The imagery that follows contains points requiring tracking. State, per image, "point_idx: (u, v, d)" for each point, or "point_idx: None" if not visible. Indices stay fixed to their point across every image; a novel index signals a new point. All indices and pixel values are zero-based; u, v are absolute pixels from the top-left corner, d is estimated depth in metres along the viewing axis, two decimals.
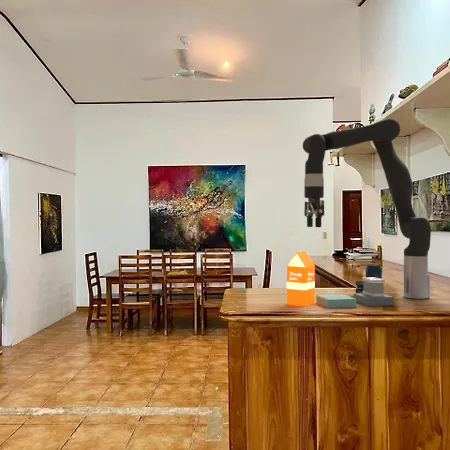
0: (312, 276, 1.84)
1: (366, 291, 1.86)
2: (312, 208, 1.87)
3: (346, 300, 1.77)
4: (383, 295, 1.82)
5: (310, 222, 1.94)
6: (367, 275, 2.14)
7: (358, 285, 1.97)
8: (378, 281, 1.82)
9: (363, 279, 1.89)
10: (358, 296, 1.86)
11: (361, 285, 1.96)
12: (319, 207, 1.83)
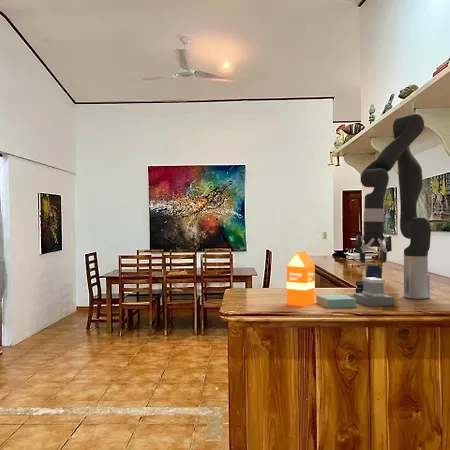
0: (312, 276, 1.84)
1: (366, 291, 1.86)
2: (381, 244, 1.85)
3: (346, 300, 1.77)
4: (383, 295, 1.82)
5: None
6: (367, 275, 2.14)
7: (358, 285, 1.97)
8: (378, 281, 1.82)
9: (363, 279, 1.89)
10: (358, 296, 1.86)
11: (361, 285, 1.96)
12: None
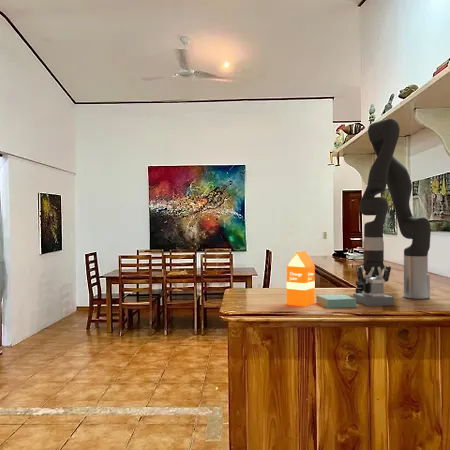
0: (312, 276, 1.84)
1: None
2: (380, 273, 1.85)
3: (346, 300, 1.77)
4: (383, 295, 1.82)
5: None
6: None
7: (358, 285, 1.97)
8: (378, 281, 1.82)
9: None
10: (358, 296, 1.86)
11: (361, 285, 1.96)
12: None
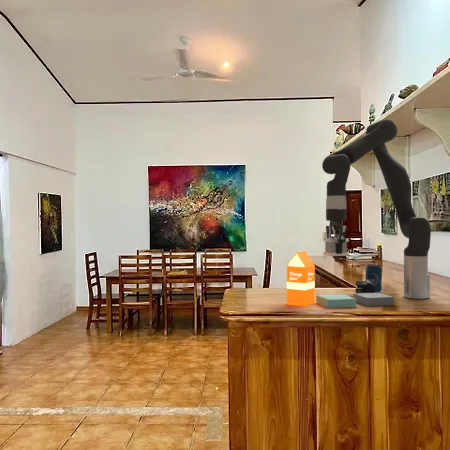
0: (312, 276, 1.84)
1: None
2: None
3: (346, 300, 1.77)
4: None
5: None
6: (367, 275, 2.14)
7: (358, 285, 1.97)
8: None
9: (330, 240, 1.79)
10: (358, 296, 1.86)
11: (361, 285, 1.96)
12: None
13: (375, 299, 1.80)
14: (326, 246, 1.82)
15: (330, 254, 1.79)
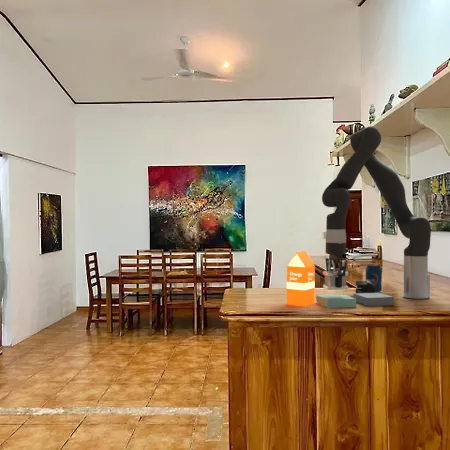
0: (312, 276, 1.84)
1: None
2: None
3: (346, 300, 1.77)
4: None
5: None
6: (367, 275, 2.14)
7: (358, 285, 1.97)
8: None
9: (330, 274, 1.79)
10: (358, 296, 1.86)
11: (361, 285, 1.96)
12: None
13: (375, 299, 1.80)
14: (326, 279, 1.83)
15: (329, 288, 1.79)
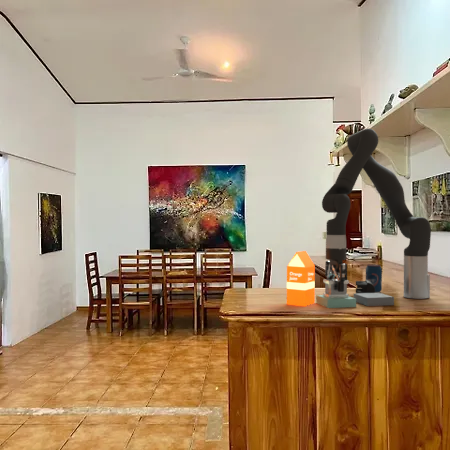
0: (312, 276, 1.84)
1: (337, 294, 1.79)
2: None
3: (346, 300, 1.77)
4: None
5: None
6: (367, 275, 2.14)
7: (358, 285, 1.97)
8: None
9: (330, 282, 1.79)
10: (358, 296, 1.86)
11: (361, 285, 1.96)
12: None
13: (375, 299, 1.80)
14: (326, 287, 1.83)
15: (330, 296, 1.79)
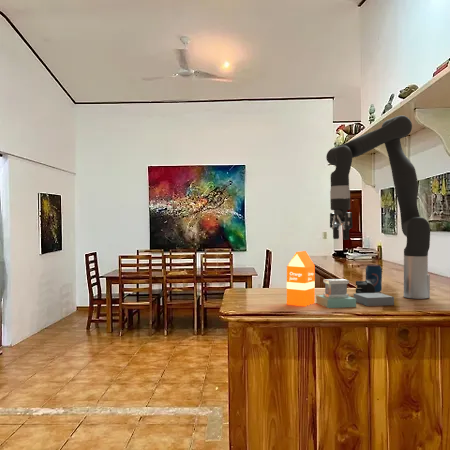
0: (312, 276, 1.84)
1: (337, 294, 1.79)
2: None
3: (346, 300, 1.77)
4: None
5: None
6: (367, 275, 2.14)
7: (358, 285, 1.97)
8: None
9: (330, 282, 1.79)
10: (358, 296, 1.86)
11: (361, 285, 1.96)
12: None
13: (375, 299, 1.80)
14: (326, 287, 1.83)
15: (330, 296, 1.79)
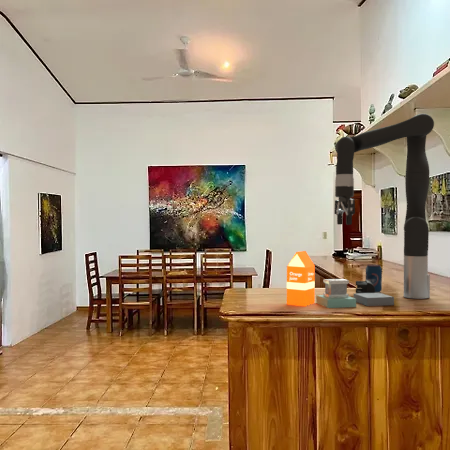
0: (312, 276, 1.84)
1: (337, 294, 1.79)
2: None
3: (346, 300, 1.77)
4: None
5: None
6: (367, 275, 2.14)
7: (358, 285, 1.97)
8: None
9: (330, 282, 1.79)
10: (358, 296, 1.86)
11: (361, 285, 1.96)
12: None
13: (375, 299, 1.80)
14: (326, 287, 1.83)
15: (330, 296, 1.79)
